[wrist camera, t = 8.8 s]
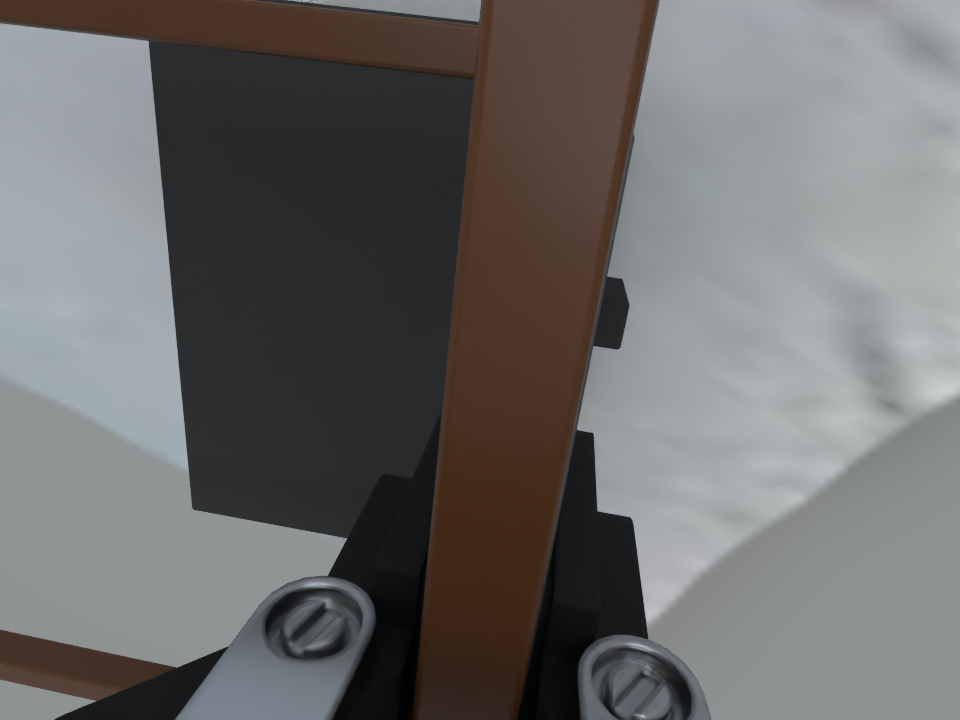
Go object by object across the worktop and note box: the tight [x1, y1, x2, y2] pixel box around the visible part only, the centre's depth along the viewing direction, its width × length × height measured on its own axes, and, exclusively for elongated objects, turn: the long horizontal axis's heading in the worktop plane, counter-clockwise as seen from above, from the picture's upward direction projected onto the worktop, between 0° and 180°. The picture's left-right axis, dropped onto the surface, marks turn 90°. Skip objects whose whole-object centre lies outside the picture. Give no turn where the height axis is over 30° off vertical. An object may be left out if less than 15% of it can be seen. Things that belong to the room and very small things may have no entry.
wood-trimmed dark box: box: [149, 0, 629, 538], centre depth 23 cm, size 14×16×12 cm
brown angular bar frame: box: [0, 0, 659, 720], centre depth 9 cm, size 13×14×5 cm
